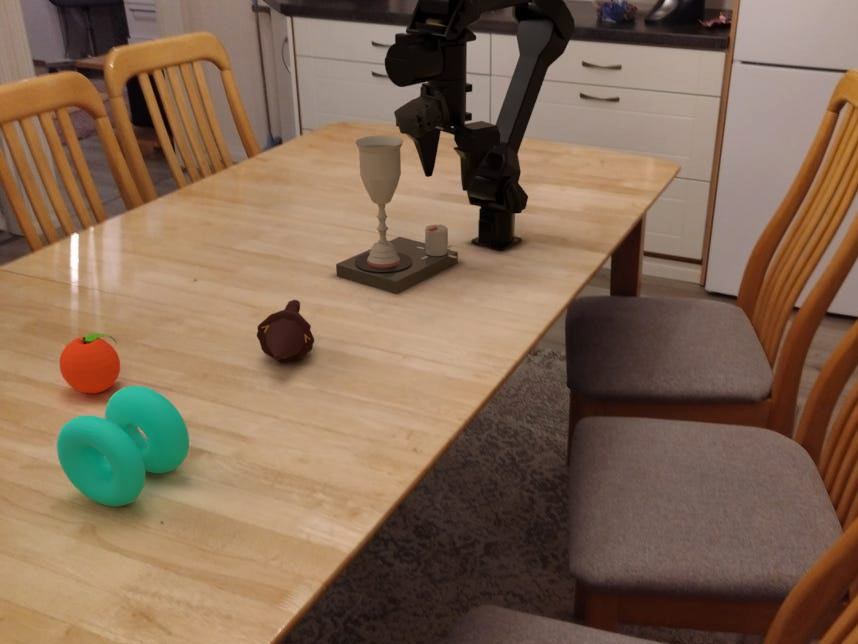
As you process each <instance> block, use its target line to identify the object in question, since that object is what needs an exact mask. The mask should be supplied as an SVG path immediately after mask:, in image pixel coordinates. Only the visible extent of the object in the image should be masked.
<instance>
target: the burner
mask: <svg viewBox="0 0 858 644" xmlns="http://www.w3.org/2000/svg"><path fill="white" fill-rule="evenodd" d="M369 255H370V253H366V254H363V255H361V256H359V257H357V258H356V260H355V265H356V266H357V267H358V268H359V269H361V270H364V271H368V272H374V273H392V272H398V271H402V270H405V269H407V268H409V267H410V266H411V265H412V259H411V258H410V257H409V256H407V255H405V254H402V253H398V252H397V255H398V256H399V258H400V259H399V261H397V262H395V263H392V264H385V265H384V264H374V263H371V262H369V261H368V256H369Z"/></svg>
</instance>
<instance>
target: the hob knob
mask: <svg viewBox="0 0 858 644" xmlns="http://www.w3.org/2000/svg"><path fill="white" fill-rule="evenodd" d="M448 232H449V229H448V227H447V226H446V225H444V224H429V225H427V226H425V228H424V243H425V253H426V254H427V255H430V256H443V255H446V254H447V253H448V249H449V248H448V246H449V240H448V239H449V233H448Z"/></svg>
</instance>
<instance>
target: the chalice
mask: <svg viewBox="0 0 858 644" xmlns="http://www.w3.org/2000/svg"><path fill="white" fill-rule="evenodd" d="M403 144H404V139H403V138H401V137H399V136H393V135H369V136H368V135H367V136H363V137H361V138H360V137H359V138H358V139H356V140H355V145H356V146H357V148H358V155H359V176H360V178H361V182H362V184H363V186H364V189H365V190H366V192H367V194H368V196H369V198H370V200H371V202H372V203H373V204H374V205H375V204H376V205H377V206H378V207H377V208H378V213H377V216H376V218H377V219H378V226H377V228H376V230H377V231H378V233H379V240H377V242H374V243H373V244H372V246H371V247H370V249H371V251H370V255H369V256H368V261H369V262H371V263H374V264H384V265H385V264H392V263H395V262H397V261H399V259H400V258H399V256H398V255H397V251H396V250H395V247H394V245H393V244H392V243H390V242H388V241H389V240H388V239H387V231H388V230H389V227H388V226H387V224H386V221H387V218H388V215H387V213H386V205H387V204H389V203H391V202H392V199H393V197H394V194H395V193H396V190H397V188H398V185H399V182H400V178H401V175H402V165H401V161H402V160H401V148H402V146H403Z"/></svg>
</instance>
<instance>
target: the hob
mask: <svg viewBox="0 0 858 644" xmlns="http://www.w3.org/2000/svg"><path fill="white" fill-rule="evenodd" d="M388 242H390V243H392V244H393V245H394V247H395V250H396V251H397V252H398V253H402V254H405V255H407V256H409V257H410V258H411V259H412V265H411V266H410V267H409V268H407V269H405V270H402V271H398V272H392V273H374V272H368V271H364V270H361V269H359V268H358V267H357V266H356V265H355V260H356V258H357V257H359V256H361V255H363V254H366V253H370V251H371V248H370V249H367V250H365V251H363V252H361V253H358V254H356V255H354V256H351V257H349V258H347V259H345V260H342V261H340V262H337V263H335V268H336V277H339V278H342V279H346V280H348V281H352V282H356V283H359V284H363V285H366V286H369V287H372V288H376V289H379V290H382V291H386V292H389V293H393V294H397V295H398V294H400V293H401V292H403V291H406V290H407V289H409V288H411V287H413V286H415V285H417V284H420V283H421V282H423V281H426V280H428V279H429V278H431V277H433V276H436V275H438V274H439V273H442V272H444V271H446V270H448V269H450V268H452V267H454V266H456V265H458V264H459V252H458V251H456V250H452V249H449V248H451V247H452V245H451V244H448V253H447V254H446V255H443V256H430V255H427V254H426V253H425V242H422V241H418V240H414V239H411V238H407V237H403V236H398V237H396V238H393V239H391V240H388Z"/></svg>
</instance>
